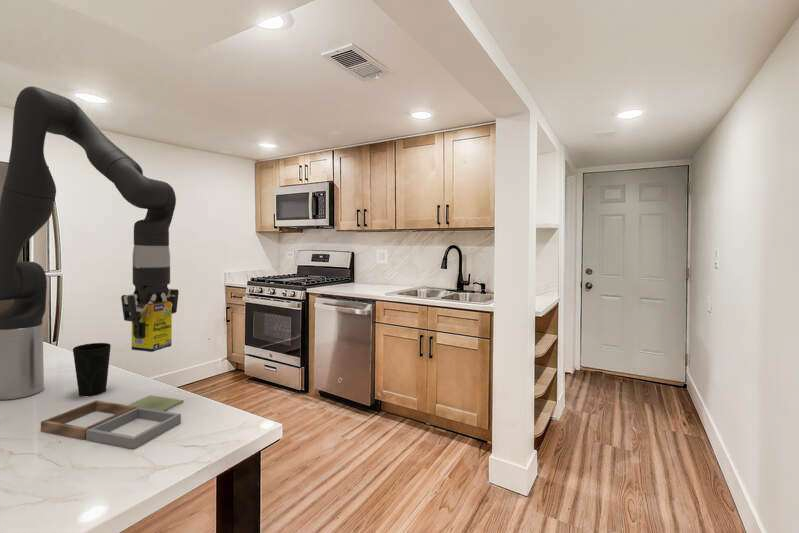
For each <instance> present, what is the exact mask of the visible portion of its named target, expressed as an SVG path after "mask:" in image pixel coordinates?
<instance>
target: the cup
mask: <svg viewBox="0 0 799 533" xmlns="http://www.w3.org/2000/svg"><path fill="white" fill-rule="evenodd" d="M111 347H112V346H111V344H110V343H108V342H94V343H85V344H81V345H76V346H75V347H74V348H72V352H73V353H72V354H73V361H74V367H75V376H76V382H77V389H78V390H77V391H78V396H79V395H80V397H83V396H88V397H94V395H95V396H98V394H99V395H101V393H102V394H104V393H105V392H106V391H107V387H108V386H107V384H108V378H109V377H108V376H109V368H110V367H109V366H110V356H111ZM103 392H104V393H103Z"/></svg>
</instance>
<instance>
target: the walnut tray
mask: <svg viewBox="0 0 799 533" xmlns="http://www.w3.org/2000/svg"><path fill="white" fill-rule="evenodd" d="M128 405H129V404H127V405H126V404H122V403H121V404H120V403H116V402H115V403H114V402H109V401H104V400H103V401H102V400H94V401H91V402H89V403H85V404H83V405H80V406H78V407H76V408H73V409H70V410H68V411H66V412H63V413H60V414H57V415H55V416H52V417H50V418H47V419H45V420H42V421H40V432H41V433H47V432H48V433H49V434H54V435H57V434H58V436H63V437H68V438H74V439H78V440H85V441H87V440H86V430H88V429H90V428H93V427H95V426H97V425H99V424H101V423H104V422H106V421H108V420H110V419H113V418H115V417H117V416H119V415H122V414H124V413H126V412H128V411H130V410H133V409H135V408H136V407H134V406H128ZM95 411H96V412H100V413H101V412H102V413H107V412H108V414H113V413H114V415H111V416H109V417H107V418H104V419H102V420H99V421H97V422H95V423H93V424H91V425H88V426H86V427H84V426H79V425H72V424H68V423H69V422H71V421H74V420H76V419H79V418H81V417H83V416H86V415H88V414H92V413H94V412H95Z"/></svg>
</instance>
